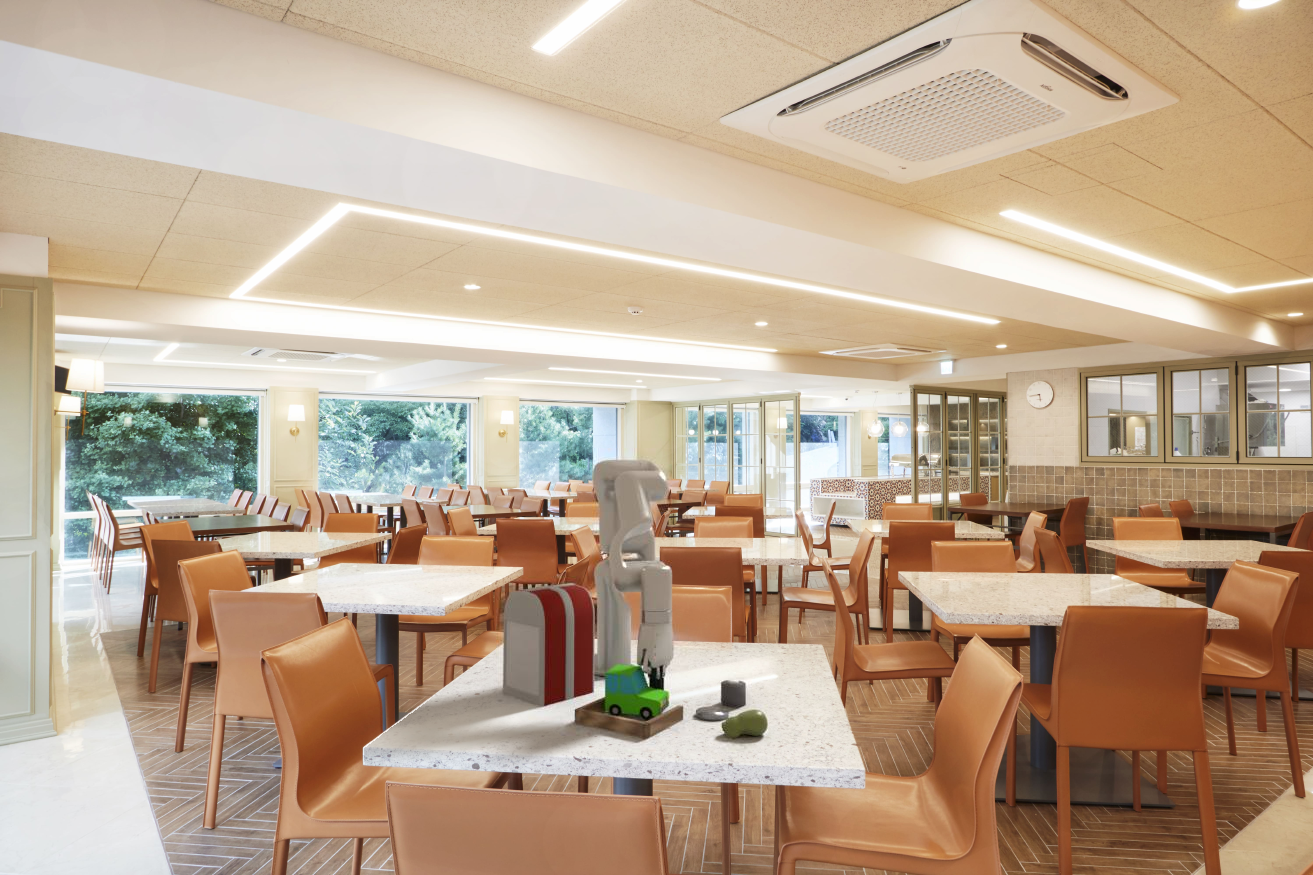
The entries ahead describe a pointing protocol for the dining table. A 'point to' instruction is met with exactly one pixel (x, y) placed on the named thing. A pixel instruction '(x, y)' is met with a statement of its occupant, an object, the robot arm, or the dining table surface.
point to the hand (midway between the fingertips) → (656, 694)
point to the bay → (626, 720)
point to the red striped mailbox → (549, 644)
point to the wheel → (733, 693)
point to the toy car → (632, 693)
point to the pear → (745, 724)
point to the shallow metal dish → (712, 713)
